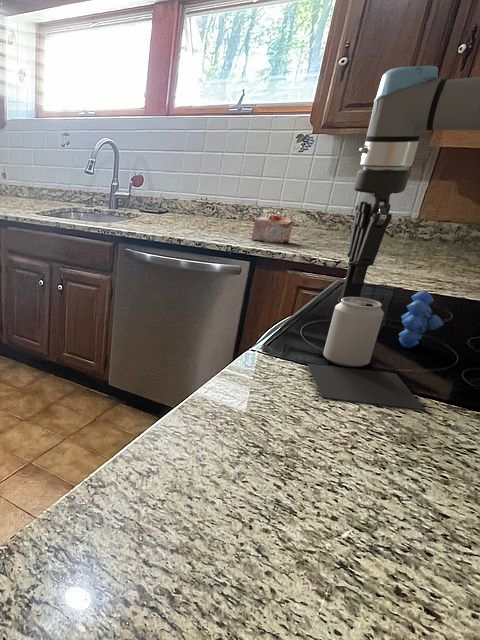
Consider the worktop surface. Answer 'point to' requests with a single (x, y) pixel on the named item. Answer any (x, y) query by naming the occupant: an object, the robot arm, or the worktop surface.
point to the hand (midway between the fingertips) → (349, 298)
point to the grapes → (418, 319)
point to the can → (353, 331)
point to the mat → (363, 386)
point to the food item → (272, 229)
